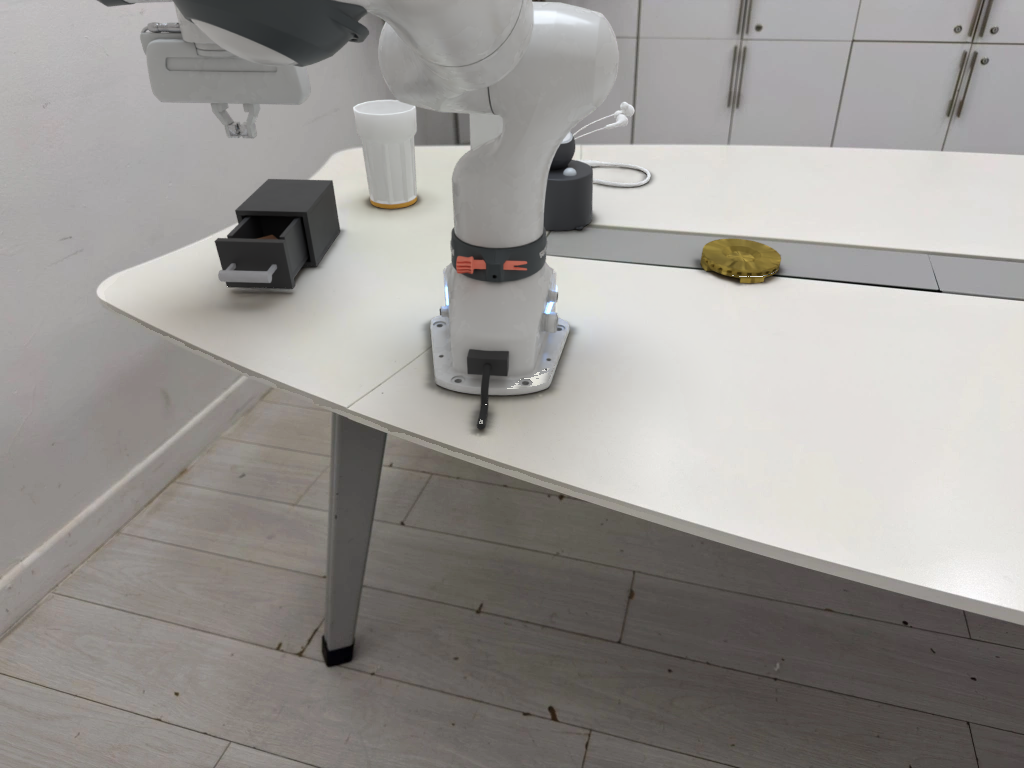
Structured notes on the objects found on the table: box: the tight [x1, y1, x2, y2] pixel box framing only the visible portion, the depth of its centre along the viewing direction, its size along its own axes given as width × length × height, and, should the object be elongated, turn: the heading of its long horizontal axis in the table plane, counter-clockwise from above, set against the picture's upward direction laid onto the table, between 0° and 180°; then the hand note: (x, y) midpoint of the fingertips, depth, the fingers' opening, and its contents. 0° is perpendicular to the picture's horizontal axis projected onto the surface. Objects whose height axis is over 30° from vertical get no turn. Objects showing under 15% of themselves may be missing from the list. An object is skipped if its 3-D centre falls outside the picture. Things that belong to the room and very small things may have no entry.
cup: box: [352, 99, 418, 210], centre depth 126 cm, size 11×11×17 cm
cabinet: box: [234, 178, 341, 268], centre depth 111 cm, size 15×11×9 cm
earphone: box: [572, 101, 652, 188], centre depth 142 cm, size 14×17×18 cm
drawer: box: [214, 215, 310, 290], centre depth 101 cm, size 18×10×7 cm, turn 177°
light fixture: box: [543, 130, 594, 232], centre depth 120 cm, size 13×16×14 cm
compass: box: [700, 237, 782, 284], centre depth 107 cm, size 12×12×2 cm
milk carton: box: [468, 114, 503, 151], centre depth 135 cm, size 7×7×19 cm
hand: (242, 137), depth 92 cm, fingers closed
